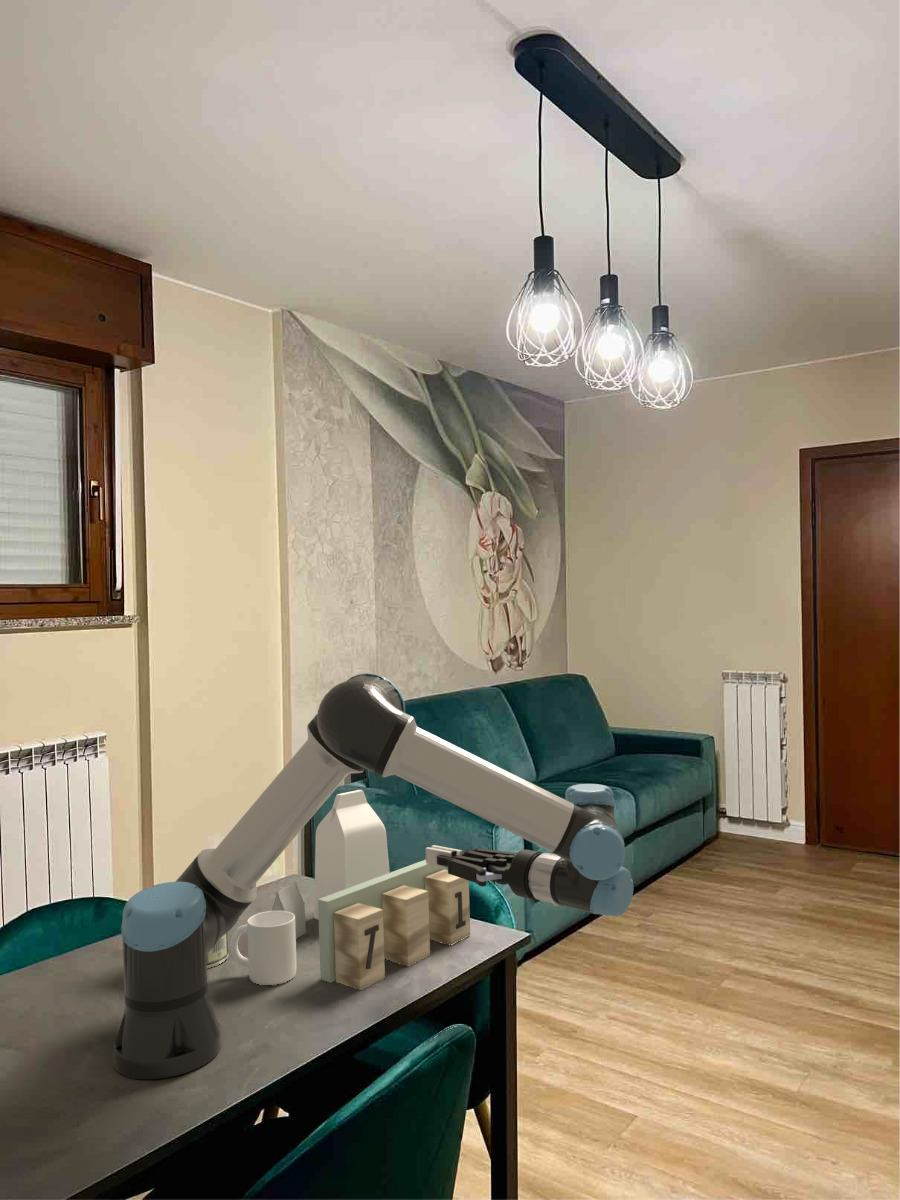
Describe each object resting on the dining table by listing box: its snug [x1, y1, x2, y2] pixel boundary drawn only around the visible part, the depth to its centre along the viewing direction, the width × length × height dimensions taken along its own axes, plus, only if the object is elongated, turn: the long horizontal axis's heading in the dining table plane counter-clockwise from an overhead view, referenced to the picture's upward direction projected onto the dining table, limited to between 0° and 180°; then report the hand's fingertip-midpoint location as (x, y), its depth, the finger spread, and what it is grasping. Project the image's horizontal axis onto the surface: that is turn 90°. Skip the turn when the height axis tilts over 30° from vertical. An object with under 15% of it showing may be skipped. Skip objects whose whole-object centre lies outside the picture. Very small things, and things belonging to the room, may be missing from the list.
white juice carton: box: [270, 881, 306, 940], centre depth 178 cm, size 4×7×10 cm, turn 159°
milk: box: [313, 789, 391, 921], centre depth 189 cm, size 12×12×26 cm
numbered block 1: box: [425, 869, 471, 946], centre depth 175 cm, size 6×6×12 cm
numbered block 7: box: [334, 903, 386, 991], centre depth 157 cm, size 6×6×12 cm
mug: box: [229, 910, 297, 986], centre depth 160 cm, size 12×8×10 cm
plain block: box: [382, 885, 431, 967], centre depth 166 cm, size 6×6×12 cm
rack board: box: [318, 859, 447, 984], centre depth 169 cm, size 2×32×14 cm, turn 140°
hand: (430, 854), depth 162 cm, fingers closed
